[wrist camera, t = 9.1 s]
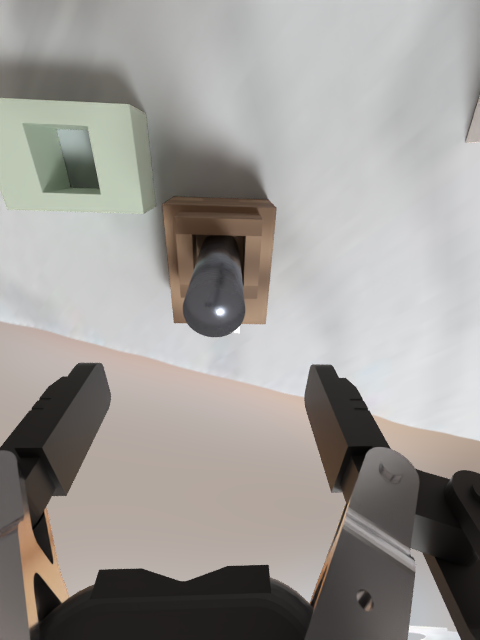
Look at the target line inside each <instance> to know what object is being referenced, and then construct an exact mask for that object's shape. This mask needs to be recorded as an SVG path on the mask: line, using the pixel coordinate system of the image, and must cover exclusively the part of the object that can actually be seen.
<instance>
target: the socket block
mask: <svg viewBox="0 0 480 640" xmlns="http://www.w3.org/2000/svg"><path fill="white" fill-rule="evenodd" d="M162 206H163V216H164V226H165V237H166V247H167V257H168V267H169V277H170V287H171V298H172V308H173V318H174V323H187V322H186V320H185V318H184V315H183V302H184V299H185V296H186V293H187V290H188V287H189V283H190V280H191V277H192V274H193V271H194V268H195V265H196V261H197V258H198V255H199V252H200V249H201V246H202V243H203V241H204V239H205V238H206V237H207V236H208V235H231V236H232V237H233V238H234V239H235V240H236V242H237V244H238V247H239V255H240V264H241V273H242V282H243V291H244V300H245V317H244V320H243V322H242V324H266V315H267V304H268V293H269V283H270V272H271V261H272V251H273V240H274V230H275V219H276V207H275V206H274V205H273V204H272V203H271V202H270V201H269V200H268V199H238V198H208V197H178V196H174V197H172V198H171V199H170V200H168V201H167V202H165V203H164V204H162Z"/></svg>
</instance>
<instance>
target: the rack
mask: <svg viewBox="0 0 480 640" xmlns="http://www.w3.org/2000/svg"><path fill="white" fill-rule="evenodd" d="M56 129H70V130H88V132H89V137H90V142H91V147H92V152H93V157H94V162H95V167H96V172H97V177H98V182H99V187H100V189H95V188H71V187H70V183H69V178H68V174H67V170H66V166H65V162H64V158H63V154H62V150H61V146H60V142H59V138H58V134H57V130H56ZM0 190H1V193H2V196H3V199H4V201H5V204H6V207H7V210H33V211H66V212H99V213H132V214H144V213H146V212H147V211H149V210H150V209H152V208H154V207H155V206H156V201H155V191H154V182H153V173H152V164H151V155H150V146H149V136H148V127H147V118H146V113H144V112H142V111H141V110H139V109H137V108H135V107H133V106H132V105H130V104H115V103H95V102H74V101H53V100H33V99H12V98H0Z"/></svg>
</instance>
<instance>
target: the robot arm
mask: <svg viewBox="0 0 480 640" xmlns="http://www.w3.org/2000/svg"><path fill="white" fill-rule="evenodd" d="M110 400H111V393H110V389H109V385H108V382H107V378H106V375H105V371H104V367H103V365H102V364H101V363H78V364H77V365H76V366H75V367H74V369H73V370H72V371H71V373H70V374H69V375H68V377H61V378H60V379H59V380H57V381H56V382H54V383H53V384H52V385H50V386H49V387H48V388H47V389H46V391H45V392H44V393H43V394H42V396H41V397H40V400H39V401H37V402H36V403H35V404H34V406H33V407H32V410H31V411H29V412H28V413H27V414H26V416H25V417H24V418H23V420H22V421H21V422H20V423H19V425H18V426H17V427H16V428H15V430H14V431H13V432H12V433H11V435H10V436H9V437H8V438H7V440H6V441H5V442H4V443H3V445H2V446H1V447H0V640H407V639H408V631H409V622H410V613H411V605H412V597H413V588H414V580H415V560H414V558H413V557H411V555H410V548H412V549H415V550H418V551H420V552H422V553H423V555H424V557H425V559H426V561H427V564H428V566H429V568H430V571H431V573H432V575H433V577H434V580H435V582H436V584H437V586H438V589H439V591H440V593H441V595H442V598H443V600H444V602H445V604H446V607H447V609H448V611H449V613H450V615H451V618H452V620H453V622H454V625H455V627H456V629H457V631H458V634H459V636H460V638H461V640H480V474H479V473H476V472H472V471H467V470H462V471H458V472H456V473H455V474H454V475H453V476H452V478H451V479H447V478H443V477H440V476H437V475H433V474H429V473H426V472H423V471H420V470H417V469H415V468H414V466H413V465H412V464H411V462H410V461H409V460H408V459H407V458H405V457H404V456H403V455H401V454H400V453H398V452H396V451H394V450H392V449H391V448H390V447H389V445H388V443H387V442H386V440H385V438H384V436H383V434H382V433H381V431H380V429H379V427H378V425H377V424H376V422H375V420H374V418H373V416H372V415H371V413H370V411H368V408H367V406H366V404H365V402H364V401H363V399H362V397H361V395H360V393H359V391H358V390H357V388H356V387H355V386H354V385H353V384H352V383H351V382H350V381H348V380H347V379H346V378H339V377H338V375H337V373H336V371H335V369H334V367H333V366H332V365H311V367H310V370H309V375H308V380H307V385H306V390H305V408H306V411H307V415H308V418H309V421H310V424H311V428H312V431H313V434H314V437H315V441H316V444H317V447H318V450H319V454H320V457H321V460H322V463H323V467H324V470H325V473H326V476H327V480H328V483H329V486H330V489H331V492H332V493H334V492H335V493H337V492H343V495H344V498H345V501H346V504H345V506H344V509H343V512H342V515H341V518H340V520H339V524H338V526H337V529H336V532H335V535H334V537H333V540H332V543H331V546H330V549H329V552H328V554H327V557H326V560H325V563H324V566H323V568H322V571H321V573H320V576H319V579H318V582H317V584H316V587H315V590H314V593H313V595H312V598H311V601H310V604H309V603H308V602H307V601H306V600H305V599H304V598H303V597H302V596H301V595H300V594H298V593H297V592H296V591H295V590H293V589H292V588H290V587H289V586H287V585H286V584H284V583H282V582H280V581H278V580H275V579H273V578H270V576H269V565H249V566H227V567H224V568H221V569H219V570H216V571H213V572H210V573H208V574H205V575H203V576H200V577H197V578H194V579H191V580H189V581H178V580H175V579H172V578H169V577H166V576H163V575H160V574H157V573H154V572H151V571H148V570H144V569H108V570H99V572H98V575H97V578H96V582H95V585H92V586H89V587H87V588H85V589H83V590H81V591H79V592H77V593H76V594H74V595H73V596H71V597H70V598H69V595H68V592H67V589H66V585H65V583H64V580H63V578H62V575H61V572H60V569H59V565H58V560H57V555H56V550H55V545H54V540H53V535H52V530H51V525H50V520H49V515H48V511H47V508H46V506H47V504H48V502H49V500H50V498H51V496H66V495H67V493H68V491H69V489H70V487H71V485H72V483H73V481H74V479H75V477H76V475H77V473H78V471H79V469H80V467H81V464H82V462H83V460H84V458H85V456H86V454H87V452H88V450H89V448H90V446H91V444H92V442H93V440H94V438H95V436H96V433H97V432H98V429H99V427H100V425H101V423H102V421H103V419H104V417H105V415H106V413H107V411H108V409H109V406H110Z"/></svg>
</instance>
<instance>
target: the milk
mask: <svg viewBox="0 0 480 640" xmlns="http://www.w3.org/2000/svg"><path fill="white" fill-rule="evenodd" d="M478 142H480V96H479V100H478V103H477V106H476V110H475V113H474V116H473V119H472V123H471V126H470V129H469V133H468V136H467V139H466V143H478Z"/></svg>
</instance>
